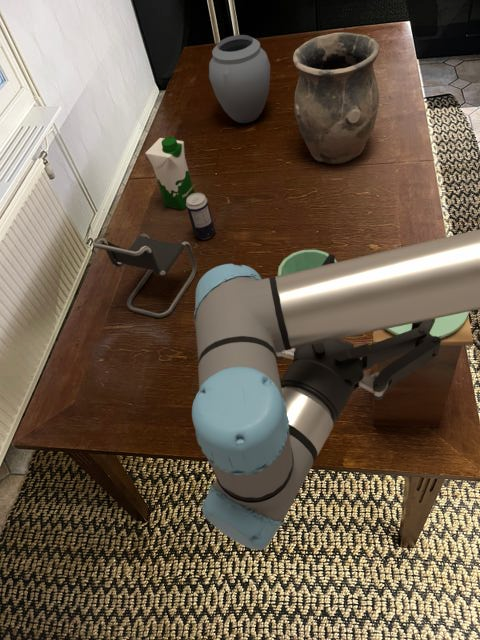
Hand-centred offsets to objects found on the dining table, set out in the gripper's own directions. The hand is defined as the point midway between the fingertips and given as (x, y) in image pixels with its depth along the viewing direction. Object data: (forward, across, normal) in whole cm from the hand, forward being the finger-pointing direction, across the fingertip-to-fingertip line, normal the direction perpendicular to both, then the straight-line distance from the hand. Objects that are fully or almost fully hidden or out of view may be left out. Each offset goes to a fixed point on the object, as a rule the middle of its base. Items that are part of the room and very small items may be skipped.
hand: (380, 276), depth 68 cm
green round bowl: (+26, -26, -42) cm, 56 cm away
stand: (+9, +3, -42) cm, 43 cm away
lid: (+9, +3, -13) cm, 16 cm away
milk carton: (+44, -77, -42) cm, 98 cm away
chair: (+13, -60, -42) cm, 75 cm away
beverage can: (+34, -62, -42) cm, 82 cm away
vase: (+89, -82, -42) cm, 128 cm away
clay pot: (+81, -45, -42) cm, 101 cm away
